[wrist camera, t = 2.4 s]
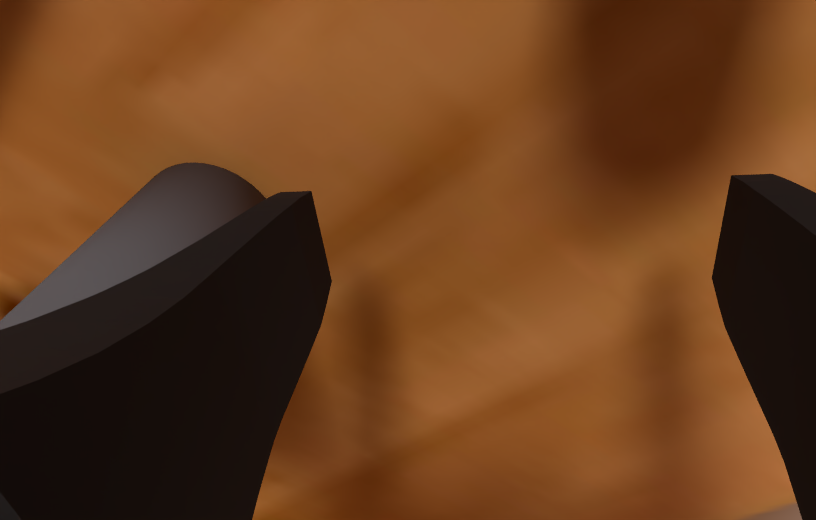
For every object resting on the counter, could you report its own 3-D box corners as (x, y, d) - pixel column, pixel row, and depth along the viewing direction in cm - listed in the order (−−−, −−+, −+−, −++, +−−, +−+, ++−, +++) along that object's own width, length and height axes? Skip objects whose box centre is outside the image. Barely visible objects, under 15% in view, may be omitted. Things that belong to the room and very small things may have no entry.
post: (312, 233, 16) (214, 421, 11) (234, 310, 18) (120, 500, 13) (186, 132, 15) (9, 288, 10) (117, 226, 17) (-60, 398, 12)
